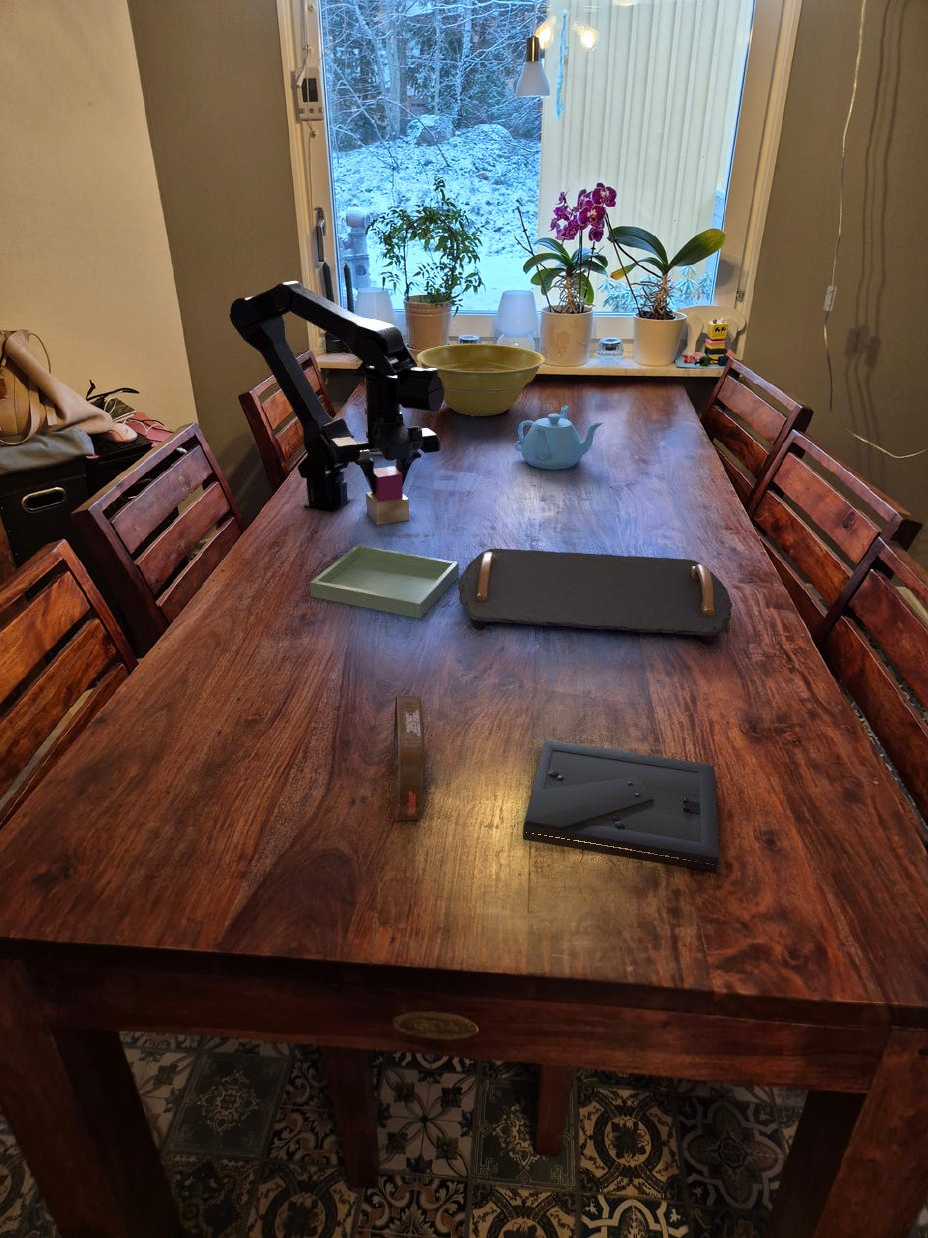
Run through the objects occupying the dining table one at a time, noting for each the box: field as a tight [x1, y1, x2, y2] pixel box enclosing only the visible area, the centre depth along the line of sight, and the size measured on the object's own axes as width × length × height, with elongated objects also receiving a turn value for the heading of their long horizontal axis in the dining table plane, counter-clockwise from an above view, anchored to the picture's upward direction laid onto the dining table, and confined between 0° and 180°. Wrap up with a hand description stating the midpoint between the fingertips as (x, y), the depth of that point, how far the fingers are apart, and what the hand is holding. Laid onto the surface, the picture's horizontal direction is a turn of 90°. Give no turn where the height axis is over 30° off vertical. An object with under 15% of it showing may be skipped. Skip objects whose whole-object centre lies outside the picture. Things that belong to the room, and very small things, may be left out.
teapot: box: [514, 404, 604, 470], centre depth 173 cm, size 15×15×10 cm
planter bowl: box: [415, 343, 545, 417], centre depth 208 cm, size 32×32×13 cm
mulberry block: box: [370, 465, 404, 501], centre depth 144 cm, size 4×4×4 cm
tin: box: [392, 694, 426, 822], centre depth 82 cm, size 15×3×8 cm, turn 5°
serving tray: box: [457, 548, 733, 646], centre depth 117 cm, size 39×23×6 cm, turn 83°
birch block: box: [365, 491, 410, 526], centre depth 146 cm, size 6×6×4 cm
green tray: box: [309, 544, 460, 620], centre depth 123 cm, size 18×15×2 cm
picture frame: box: [522, 739, 720, 874], centre depth 81 cm, size 13×2×18 cm
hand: (386, 492), depth 145 cm, fingers closed on mulberry block, 4 cm apart
